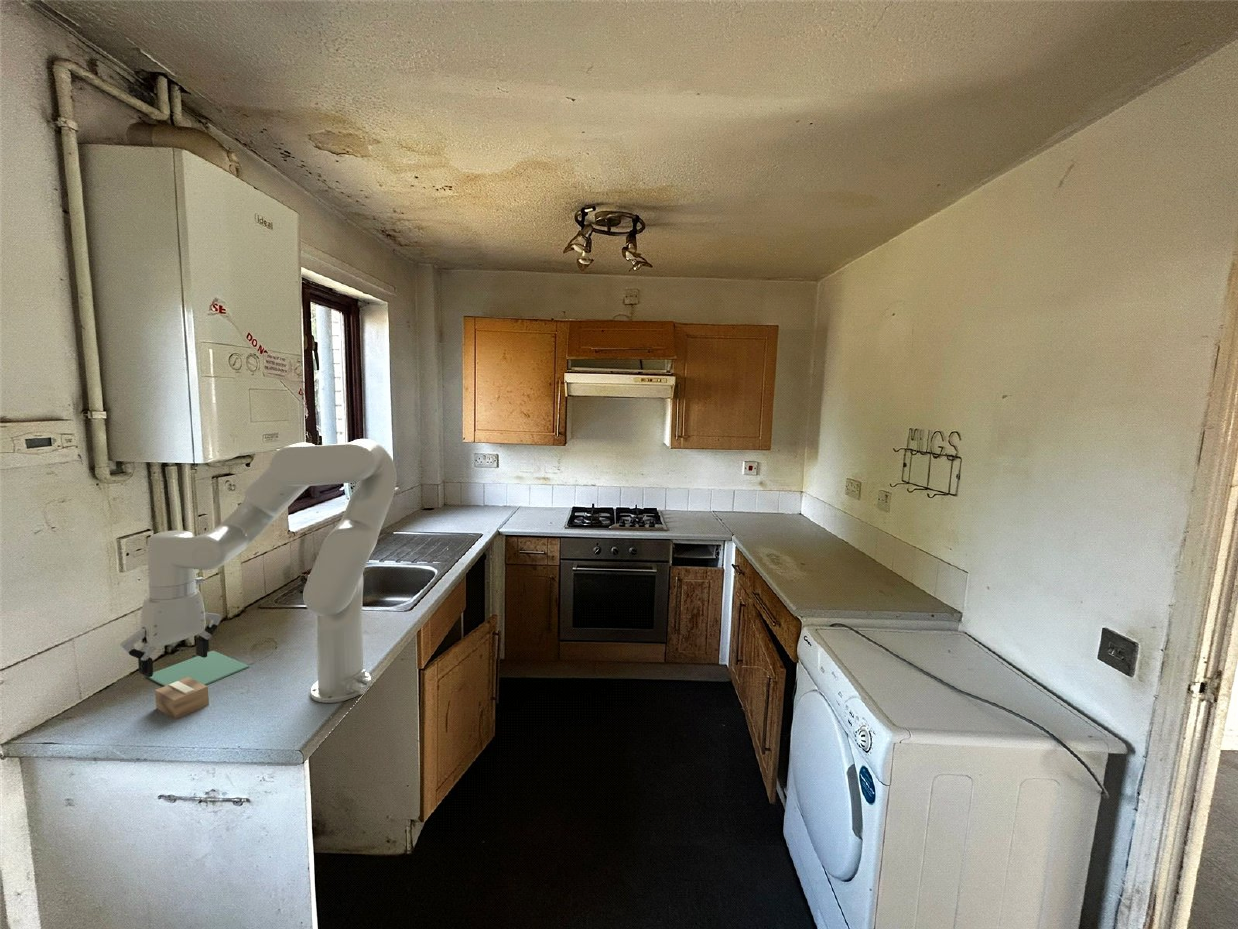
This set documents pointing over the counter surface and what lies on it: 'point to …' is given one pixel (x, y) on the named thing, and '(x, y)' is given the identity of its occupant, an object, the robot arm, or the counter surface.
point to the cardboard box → (181, 697)
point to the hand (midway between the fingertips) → (175, 665)
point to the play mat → (200, 669)
